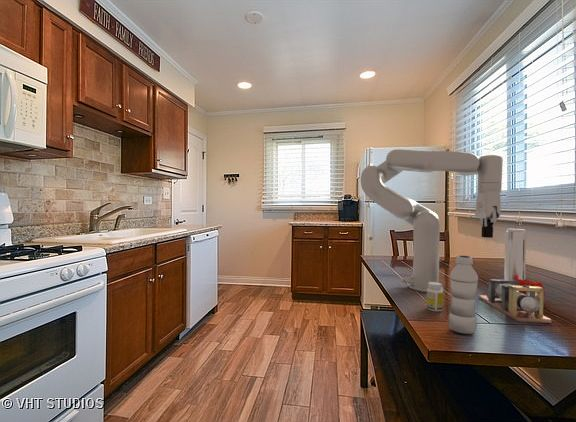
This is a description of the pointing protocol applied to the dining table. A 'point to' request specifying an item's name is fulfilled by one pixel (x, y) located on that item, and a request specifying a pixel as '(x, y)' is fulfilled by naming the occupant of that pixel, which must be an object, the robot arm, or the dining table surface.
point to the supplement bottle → (435, 296)
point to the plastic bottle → (463, 296)
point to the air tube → (521, 300)
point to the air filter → (515, 254)
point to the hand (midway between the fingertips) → (487, 237)
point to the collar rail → (515, 300)
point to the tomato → (529, 283)
